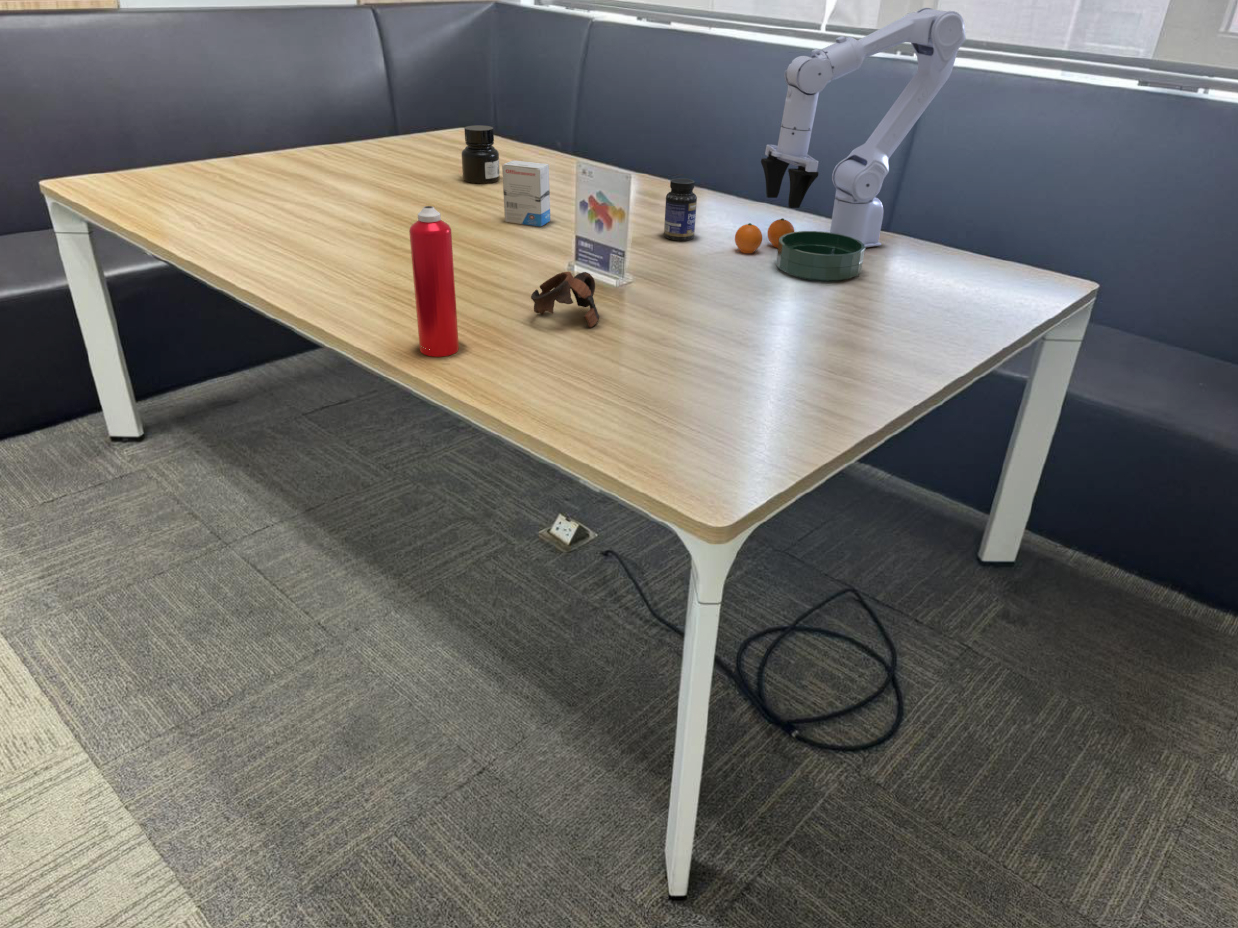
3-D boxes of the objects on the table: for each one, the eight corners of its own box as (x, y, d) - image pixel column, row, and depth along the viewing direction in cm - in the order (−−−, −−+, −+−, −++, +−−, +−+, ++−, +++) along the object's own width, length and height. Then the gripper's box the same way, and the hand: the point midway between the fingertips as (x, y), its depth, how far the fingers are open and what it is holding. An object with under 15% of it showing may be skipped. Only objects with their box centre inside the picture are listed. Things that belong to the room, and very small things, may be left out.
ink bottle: (497, 185, 213) (494, 132, 207) (459, 184, 213) (456, 131, 207) (502, 176, 221) (500, 125, 215) (466, 175, 221) (463, 123, 215)
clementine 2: (783, 241, 179) (786, 214, 176) (797, 248, 175) (801, 220, 172) (760, 243, 177) (763, 216, 174) (775, 251, 173) (778, 223, 170)
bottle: (424, 359, 124) (412, 214, 114) (416, 344, 128) (403, 203, 118) (463, 353, 126) (454, 210, 116) (453, 339, 130) (443, 200, 120)
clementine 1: (751, 246, 175) (754, 218, 173) (765, 254, 171) (769, 225, 169) (728, 249, 173) (731, 221, 171) (742, 256, 169) (745, 228, 167)
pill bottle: (692, 242, 176) (696, 185, 171) (661, 240, 177) (664, 183, 172) (695, 234, 182) (700, 178, 176) (666, 231, 183) (669, 176, 177)
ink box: (551, 222, 187) (550, 163, 181) (540, 227, 182) (539, 168, 177) (514, 216, 189) (512, 159, 183) (503, 222, 185) (501, 163, 179)
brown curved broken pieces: (588, 338, 133) (560, 292, 130) (542, 351, 139) (514, 307, 136) (621, 295, 141) (595, 250, 137) (576, 309, 147) (550, 266, 143)
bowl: (827, 253, 173) (831, 228, 170) (877, 278, 161) (882, 250, 158) (760, 261, 167) (763, 235, 164) (807, 287, 155) (811, 259, 153)
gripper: (757, 120, 169) (745, 193, 176) (801, 135, 158) (786, 212, 164) (788, 121, 172) (775, 193, 178) (833, 136, 161) (817, 212, 167)
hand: (782, 202), depth 172 cm, fingers open, 7 cm apart
